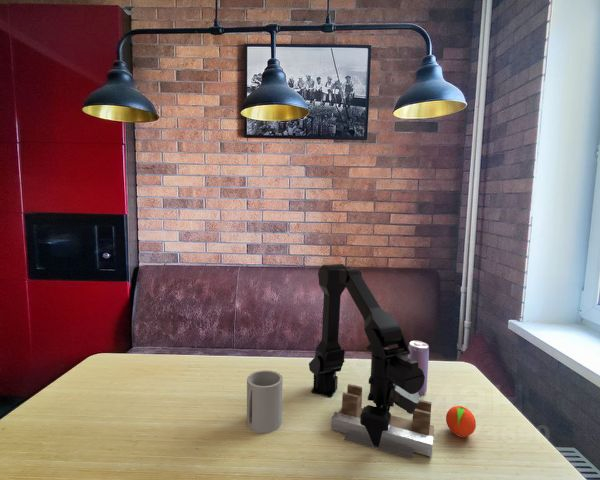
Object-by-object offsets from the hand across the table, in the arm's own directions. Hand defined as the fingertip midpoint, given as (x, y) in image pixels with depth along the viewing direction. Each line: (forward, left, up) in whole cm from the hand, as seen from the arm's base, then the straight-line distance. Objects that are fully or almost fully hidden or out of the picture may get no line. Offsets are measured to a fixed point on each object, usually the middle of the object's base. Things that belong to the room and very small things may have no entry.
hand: (380, 434), depth 87 cm
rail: (0, 0, -1) cm, 1 cm away
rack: (0, +7, -1) cm, 8 cm away
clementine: (+18, +10, -2) cm, 21 cm away
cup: (-29, -6, -2) cm, 30 cm away
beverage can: (+6, +28, -2) cm, 29 cm away
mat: (0, 0, -1) cm, 1 cm away
